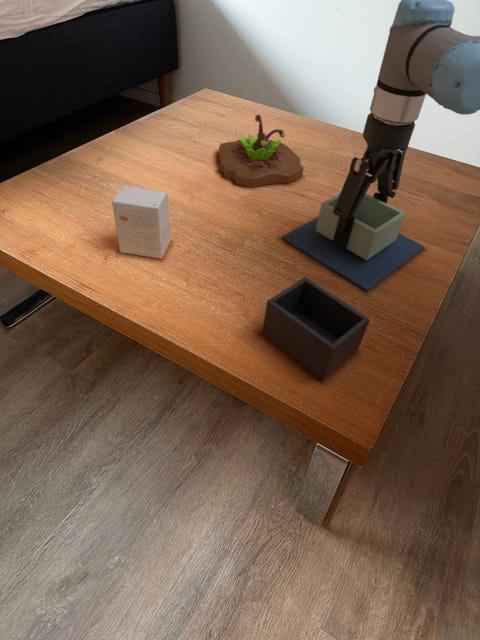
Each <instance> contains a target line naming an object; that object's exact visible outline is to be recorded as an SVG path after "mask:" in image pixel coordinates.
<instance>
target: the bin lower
mask: <svg viewBox="0 0 480 640" xmlns="http://www.w3.org/2000/svg"><path fill="white" fill-rule="evenodd" d="M370 320H371V318H369V317H367V316H366V315H365V314H363V313H361V312H360V311H358V310H357V309H355V308H354V307H352V306H351V305H349V304H348V303H346V302H345V301H343V300H341V299H339V298H338V297H336V296H335V295H334V294H332V293H331V292H329V291H327V290H326V289H325V288H323V287H321V286H320V285H318V284H317V283H315V282H314V281H312V280H311V279H310V278H308V277H306V276H304V277H302V278H301V279H299V280H297V282H294V283H293V284H292V285H290V286H289V287H287V288H285V289H284V290H282V291H280V292H279V293H278V294H276V295H274V296H273V297H272V298H269V299H268V300H267V301H266V307H265V314H264V319H263V327H262V332H261V334H262V336H264V337H265V338H266V339H268V340H269V341H270V342H271V343H273V344H274V345H276V346H277V347H278V348H279V349H281V351H283V352H284V353H286V354H287V355H288V356H290V357H291V358H292V359H293V360H294V361H296V362H298V364H300V365H301V366H302V367H304V368H305V369H307V370H308V371H309V372H310V373H312V374H313V375H314V376H315V377H316V378H318V379H319V380H320V381H322V382H324V381H325V380H326V379H327V378H328V377H329V376H331V375H332V374H333V373H334V372H335V371H337V369H339V368H340V367H341V366H343V365H344V363H346V362H347V361H348V360H349V359H351V358H352V357H353V356H354V355H355V354H357V353H358V350H359V349H360V346H361V343H362V341H363V338H364V335H365V334H366V331H367V329H368V325H369V323H370Z"/></svg>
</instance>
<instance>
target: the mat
mask: <svg viewBox="0 0 480 640" xmlns="http://www.w3.org/2000/svg"><path fill="white" fill-rule="evenodd" d="M318 218H319V216H317V217H315V218H314V219H313V220H311V221H308V222H307V223H305V224H303V225H301V226H299V227H297V228H296V229H294V230H292V231H291V232H289V233H287V234H285V235H283V236H281V240H283V241H284V242H286V243H287V244H289V245H291V246H292V247H294V248H295V249H297V250H299V251H301V252H302V253H303V254H304V255H307V256H308V257H310V258H312V259H313V260H315V261H316V262H318V263H320V264H321V265H322V266H324V267H326V268H328V269H329V270H330V271H332V272H334V273H335V274H337V275H339V276H340V277H342V278H344V279H345V280H347V281H348V282H350V283H351V284H353V285H355V286H357V287H358V288H359V289H361V290H363V291H365V292H366V293H367V292H369V291H370V290H371V289H372V288H374V287H375V286H377V285H378V284H379V283H380V282H382V281H383V280H385V279H386V278H387V277H389V276H390V275H391V274H392V273H394V272H395V271H397V270H398V269H399V268H400V267H402V266H403V265H405V264H406V263H407V262H408V261H410V260H411V259H413V258H414V257H416V255H418V254H419V253H420V252H421V251H423V250H425V246H424V245H422V244H421V243H419V242H416V241H415V240H413V239H411V238H409V237H407V236H405V235H403V234H402V233H400V232H399V234H398V236H397V239H396V241H394V242H393V243H391V244H390V245H388V246H387V247H385V248H384V249H382V250H381V251H380V252H378V253H377V254H375V255H374V256H372V257H371V258H369V259H368V260H365V259H363V258H362V257H360V256H358V255H357V254H355V253H353V252H351V251H350V250H348V249H346V248H345V249H343V248H341V247H340V246H338V245H336V244H335V243H333V240H331V239H329V238H327V237H326V236H324V235H322V234H321V233H319V232H317V231H316V226H317V222H318Z"/></svg>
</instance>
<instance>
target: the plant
mask: <svg viewBox="0 0 480 640" xmlns="http://www.w3.org/2000/svg"><path fill="white" fill-rule="evenodd" d="M254 121H255V122H256V123H258V133H256V135H255V137H254V136H253V135H251V134H248V135H247V137H248V138H245V137H240V136H239V137H238V139H237V140H235V141H234V140H233V141H227V142H221V143H220V144H219V147H218V157H219V172H220V173H222V174H223V177H224V178H225V179H226V180H227V179H228V180H231V181H234V183H235V185H239V186H241V187H244V188H245V187H246V188H255V187H260V186H265V185H277V184H282V185H283V184H286V185H288V184H290V183H292V182H295V181H297V180H298V179H299V178H301V177H303V174H304V168H305V167H304V166H302V165H301V161H302V159H301V157H300V156H298V154H296V153H295V152H294V151H293V150H292V149H291V148H290V147H289V146H288V145H287V144H285V143H283V142H282V140H281V139H278V140H272V139H270V137H271V136H272V135H274V134H275V133H278V136H279V137H280V138H285V136H286V132H285V131H284V130H283V129H281V128H280V129H279V128H277V129H273V130H270V132H269V133H268V134H266V133H264V125H263V120H262V116H261V114H256V115H255V116H254Z"/></svg>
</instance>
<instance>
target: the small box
mask: <svg viewBox="0 0 480 640" xmlns="http://www.w3.org/2000/svg"><path fill="white" fill-rule="evenodd" d="M168 198H169V197H168V191H162V190H157V189H149V188H143V187H136V186H130V185H123V186H122V188H121V189H120V190H119V192H118V193H117V194H116V196H115V197H114V198H113V200H112V201H111V205H112V210H113V217H114V223H115V230H116V235H117V237H116V238H117V242H118V247H119V252H120V253H122V254H123V253H124V254H130V255H136V256H142V257H148V258H154V259H159V260H162V259H163V257H164V255H165V253H166V251H167V249H168V247H169V246H170V243H171V228H170V214H169V200H168Z"/></svg>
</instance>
